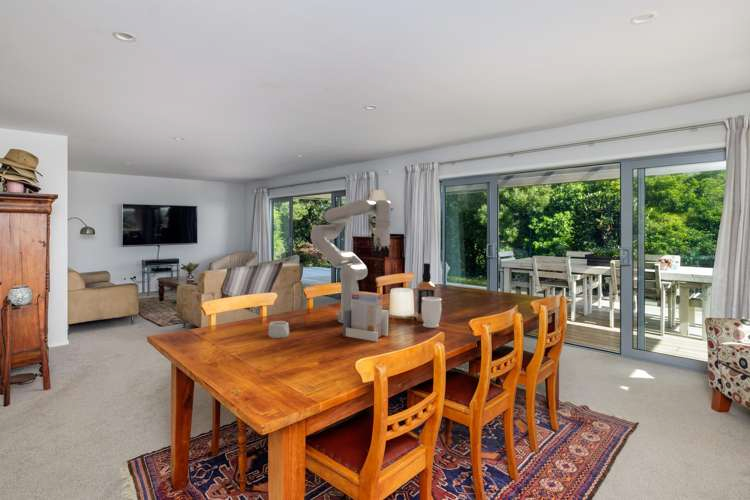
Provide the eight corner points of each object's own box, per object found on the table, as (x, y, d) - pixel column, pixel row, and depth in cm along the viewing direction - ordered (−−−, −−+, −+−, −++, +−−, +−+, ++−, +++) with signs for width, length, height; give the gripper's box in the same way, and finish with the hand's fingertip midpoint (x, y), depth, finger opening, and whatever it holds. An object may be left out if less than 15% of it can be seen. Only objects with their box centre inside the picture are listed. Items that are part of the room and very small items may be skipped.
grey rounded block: (264, 335, 192) (264, 322, 191) (283, 331, 198) (283, 319, 197) (276, 341, 182) (276, 327, 182) (295, 337, 188) (295, 324, 188)
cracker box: (381, 336, 193) (382, 293, 191) (375, 339, 187) (376, 295, 186) (357, 332, 200) (358, 290, 198) (350, 334, 194) (351, 292, 193)
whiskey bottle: (435, 321, 225) (436, 264, 222) (417, 321, 225) (418, 264, 223) (432, 317, 235) (434, 262, 233) (415, 316, 235) (417, 262, 233)
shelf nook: (343, 335, 193) (343, 310, 192) (355, 330, 203) (356, 306, 203) (376, 341, 185) (377, 315, 184) (387, 335, 195) (388, 310, 194)
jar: (428, 329, 208) (429, 300, 207) (417, 324, 217) (417, 297, 216) (444, 327, 212) (445, 299, 211) (433, 322, 222) (434, 295, 221)
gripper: (383, 224, 216) (382, 256, 217) (368, 224, 201) (367, 258, 202) (396, 224, 213) (395, 257, 214) (381, 224, 197) (381, 259, 199)
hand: (382, 257), depth 208 cm, fingers open, 9 cm apart
